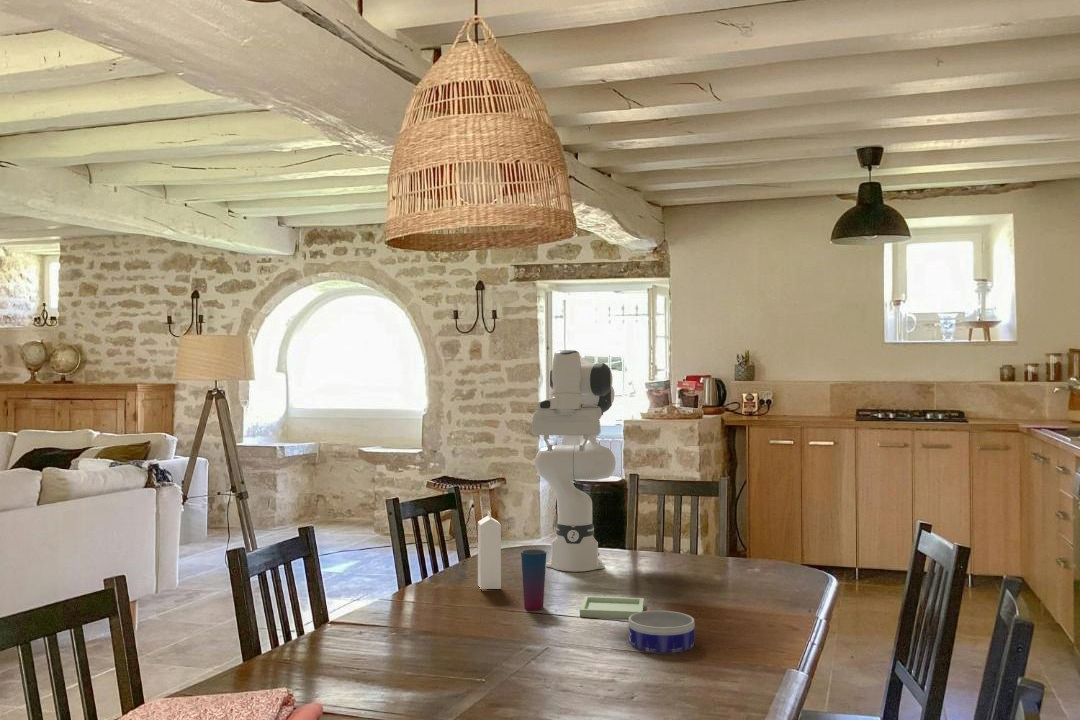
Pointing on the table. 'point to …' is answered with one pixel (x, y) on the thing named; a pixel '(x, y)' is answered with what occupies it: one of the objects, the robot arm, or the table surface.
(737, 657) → the table surface
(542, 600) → the cup
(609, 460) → the robot arm
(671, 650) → the dog bowl
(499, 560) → the milk
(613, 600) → the tray
